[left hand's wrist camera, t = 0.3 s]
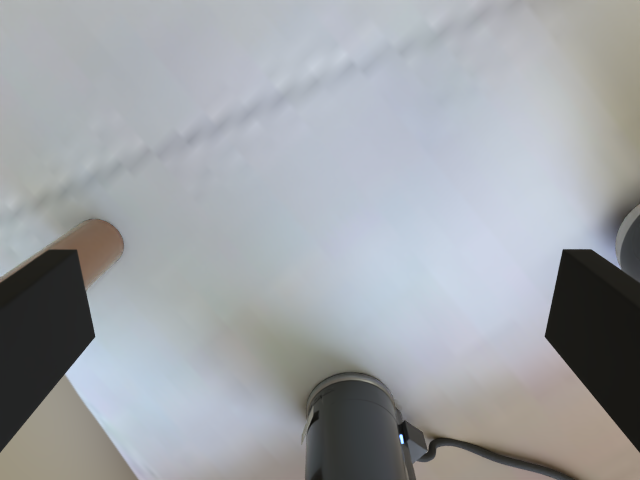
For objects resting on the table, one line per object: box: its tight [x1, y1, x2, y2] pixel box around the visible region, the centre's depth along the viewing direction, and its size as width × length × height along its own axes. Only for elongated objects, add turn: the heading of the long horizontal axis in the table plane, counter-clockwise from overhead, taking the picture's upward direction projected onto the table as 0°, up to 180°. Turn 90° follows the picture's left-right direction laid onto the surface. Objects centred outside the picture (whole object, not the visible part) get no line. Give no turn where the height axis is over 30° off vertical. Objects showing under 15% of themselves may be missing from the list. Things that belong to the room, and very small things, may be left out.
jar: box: [0, 219, 124, 290], centre depth 33 cm, size 5×5×19 cm
